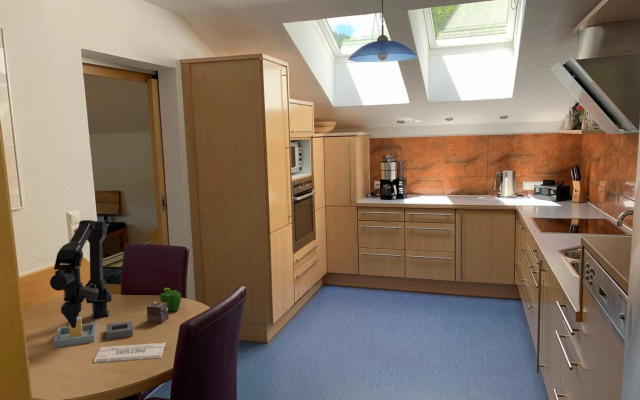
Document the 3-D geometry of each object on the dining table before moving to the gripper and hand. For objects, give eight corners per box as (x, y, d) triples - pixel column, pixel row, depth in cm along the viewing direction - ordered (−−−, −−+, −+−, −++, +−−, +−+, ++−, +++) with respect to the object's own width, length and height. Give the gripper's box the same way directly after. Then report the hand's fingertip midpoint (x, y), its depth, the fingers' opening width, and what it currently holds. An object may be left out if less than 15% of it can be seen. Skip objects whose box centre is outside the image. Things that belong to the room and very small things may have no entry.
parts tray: (59, 334, 187) (58, 327, 187) (96, 329, 192) (96, 322, 191) (54, 348, 175) (53, 341, 175) (94, 342, 180) (94, 335, 179)
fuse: (70, 335, 184) (69, 317, 183) (82, 334, 186) (81, 316, 185) (69, 339, 181) (68, 320, 180) (81, 337, 183) (80, 319, 182)
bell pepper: (182, 306, 217) (181, 283, 216) (181, 312, 209) (179, 289, 208) (162, 307, 216) (160, 285, 214) (160, 314, 208) (158, 291, 206)
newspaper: (167, 344, 179) (167, 338, 179) (162, 363, 168) (161, 356, 167) (101, 348, 176) (100, 342, 175) (91, 367, 164) (90, 361, 164)
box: (161, 325, 196) (160, 307, 195) (147, 324, 197) (146, 306, 196) (168, 319, 202) (167, 302, 201) (155, 318, 203) (154, 301, 202)
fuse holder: (107, 332, 190) (107, 324, 189) (132, 328, 193) (132, 321, 192) (106, 341, 181) (106, 333, 181) (133, 337, 184) (132, 329, 184)
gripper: (94, 286, 175) (97, 329, 177) (97, 272, 192) (100, 311, 194) (59, 290, 171) (62, 333, 173) (65, 276, 188) (68, 315, 190)
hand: (75, 323), depth 183 cm, fingers open, 9 cm apart
